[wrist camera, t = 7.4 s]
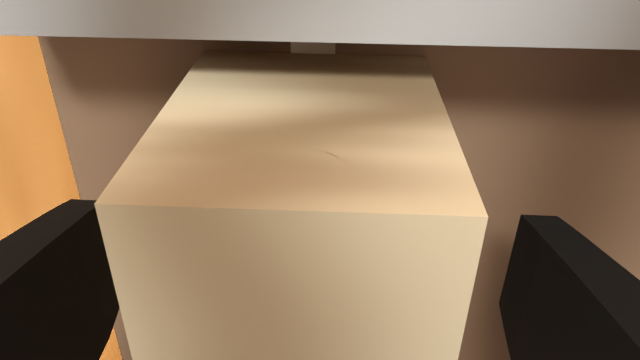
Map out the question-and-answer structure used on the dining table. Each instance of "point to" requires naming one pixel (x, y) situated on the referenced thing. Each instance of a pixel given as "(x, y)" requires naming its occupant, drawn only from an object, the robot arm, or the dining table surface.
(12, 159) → the dining table surface
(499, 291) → the marking board
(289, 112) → the block
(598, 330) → the robot arm
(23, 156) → the dining table surface
